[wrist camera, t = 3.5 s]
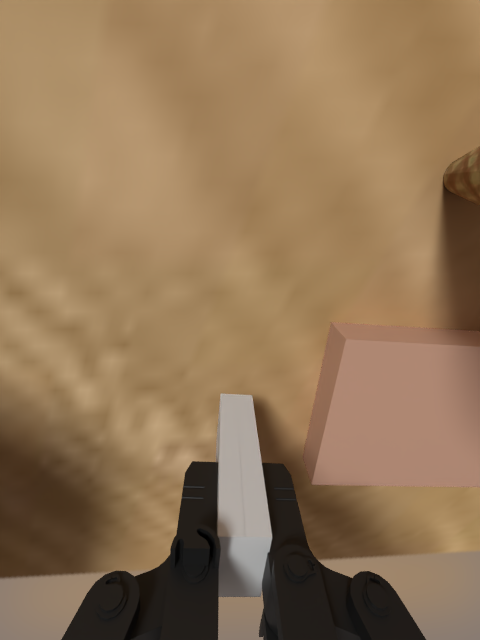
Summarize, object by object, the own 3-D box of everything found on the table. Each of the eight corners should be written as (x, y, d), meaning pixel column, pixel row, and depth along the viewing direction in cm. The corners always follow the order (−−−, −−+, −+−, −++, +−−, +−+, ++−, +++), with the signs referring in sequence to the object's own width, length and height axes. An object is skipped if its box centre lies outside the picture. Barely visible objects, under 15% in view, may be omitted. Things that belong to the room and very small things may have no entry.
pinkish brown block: (300, 450, 19) (311, 484, 17) (328, 318, 16) (346, 339, 14) (476, 454, 20) (509, 487, 18) (536, 331, 17) (585, 352, 15)
